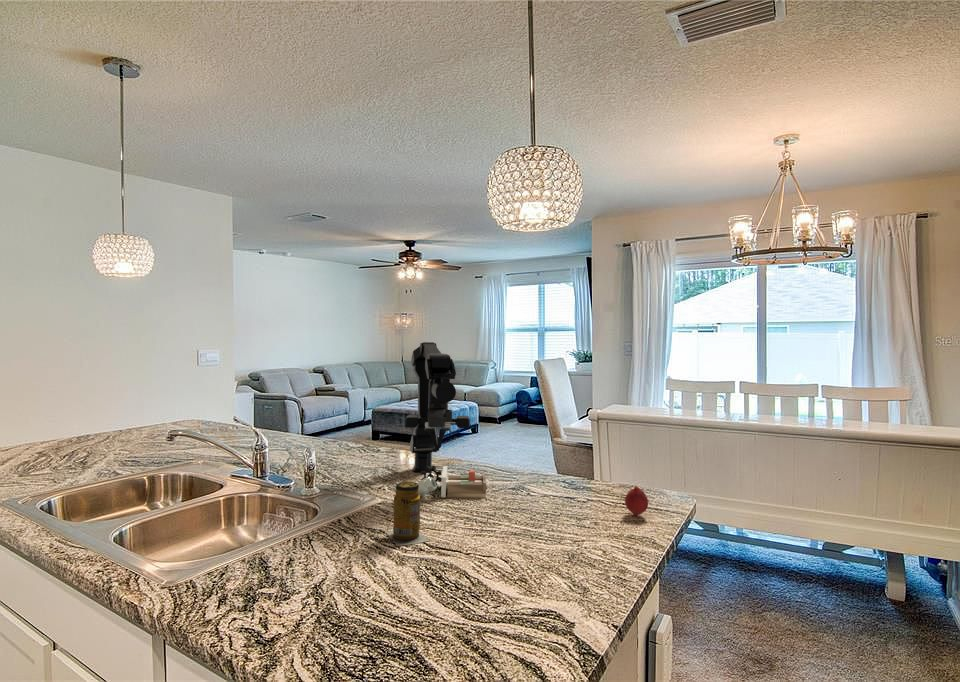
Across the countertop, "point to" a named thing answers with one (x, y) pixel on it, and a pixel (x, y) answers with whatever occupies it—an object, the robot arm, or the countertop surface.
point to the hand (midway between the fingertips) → (437, 450)
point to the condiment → (406, 515)
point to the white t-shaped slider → (445, 482)
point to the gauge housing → (466, 486)
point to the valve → (428, 481)
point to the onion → (636, 501)
